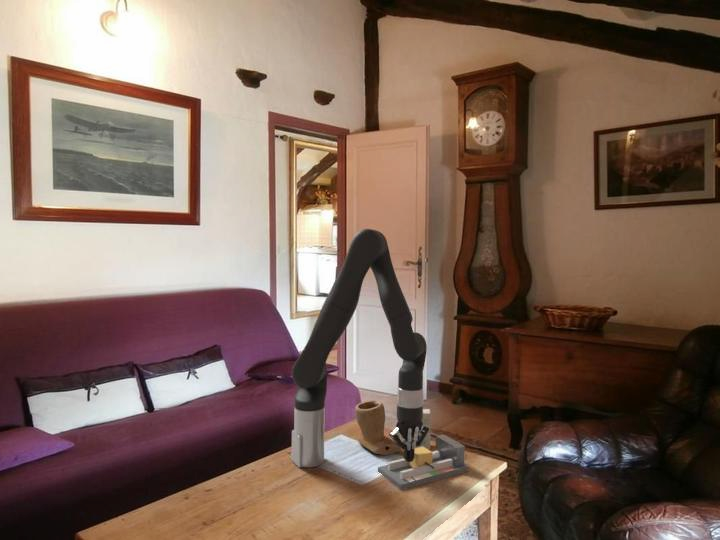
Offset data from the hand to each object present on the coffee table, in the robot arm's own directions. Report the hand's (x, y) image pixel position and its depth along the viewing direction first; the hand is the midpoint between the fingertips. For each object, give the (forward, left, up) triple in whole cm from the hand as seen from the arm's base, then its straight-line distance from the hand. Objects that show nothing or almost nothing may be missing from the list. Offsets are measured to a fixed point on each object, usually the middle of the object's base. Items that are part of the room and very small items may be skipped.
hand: (408, 460), depth 152 cm
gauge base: (+5, 0, -5) cm, 7 cm away
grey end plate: (+15, 0, -3) cm, 16 cm away
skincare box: (+15, +15, -5) cm, 22 cm away
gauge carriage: (+6, -2, -3) cm, 7 cm away
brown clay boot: (+1, +21, -5) cm, 22 cm away
